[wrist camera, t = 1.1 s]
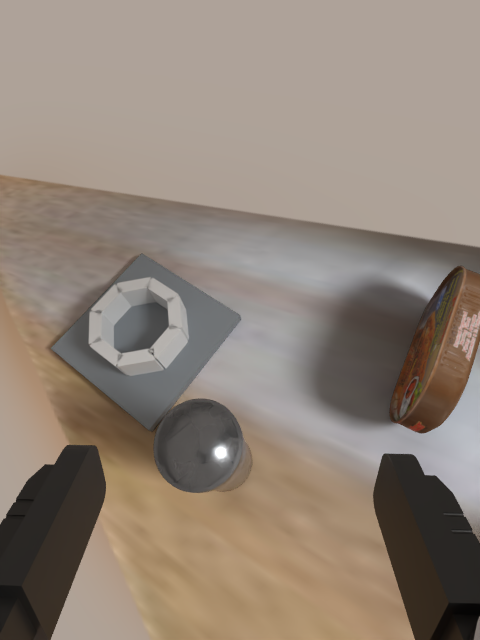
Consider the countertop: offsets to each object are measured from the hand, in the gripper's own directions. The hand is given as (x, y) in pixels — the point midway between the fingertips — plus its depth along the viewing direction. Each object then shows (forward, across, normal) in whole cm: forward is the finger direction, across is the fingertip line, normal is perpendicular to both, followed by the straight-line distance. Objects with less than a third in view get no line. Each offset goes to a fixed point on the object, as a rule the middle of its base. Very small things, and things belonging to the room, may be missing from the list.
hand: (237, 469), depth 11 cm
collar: (+26, +10, +11) cm, 30 cm away
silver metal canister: (+16, +2, +18) cm, 24 cm away
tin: (+22, -17, +12) cm, 30 cm away
